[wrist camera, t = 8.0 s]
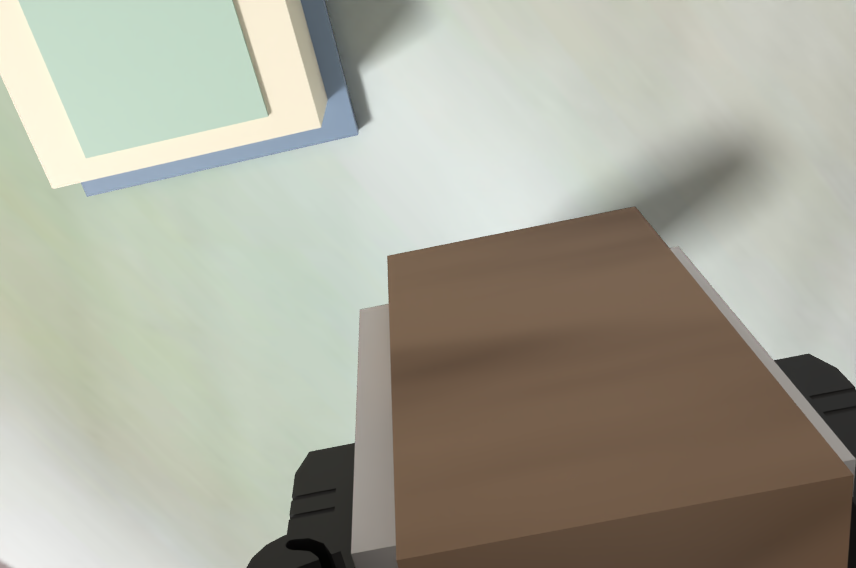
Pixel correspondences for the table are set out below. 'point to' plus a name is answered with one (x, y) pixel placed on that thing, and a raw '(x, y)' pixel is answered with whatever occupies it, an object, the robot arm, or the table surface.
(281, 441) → the table surface
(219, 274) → the table surface
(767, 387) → the walnut block
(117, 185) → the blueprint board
